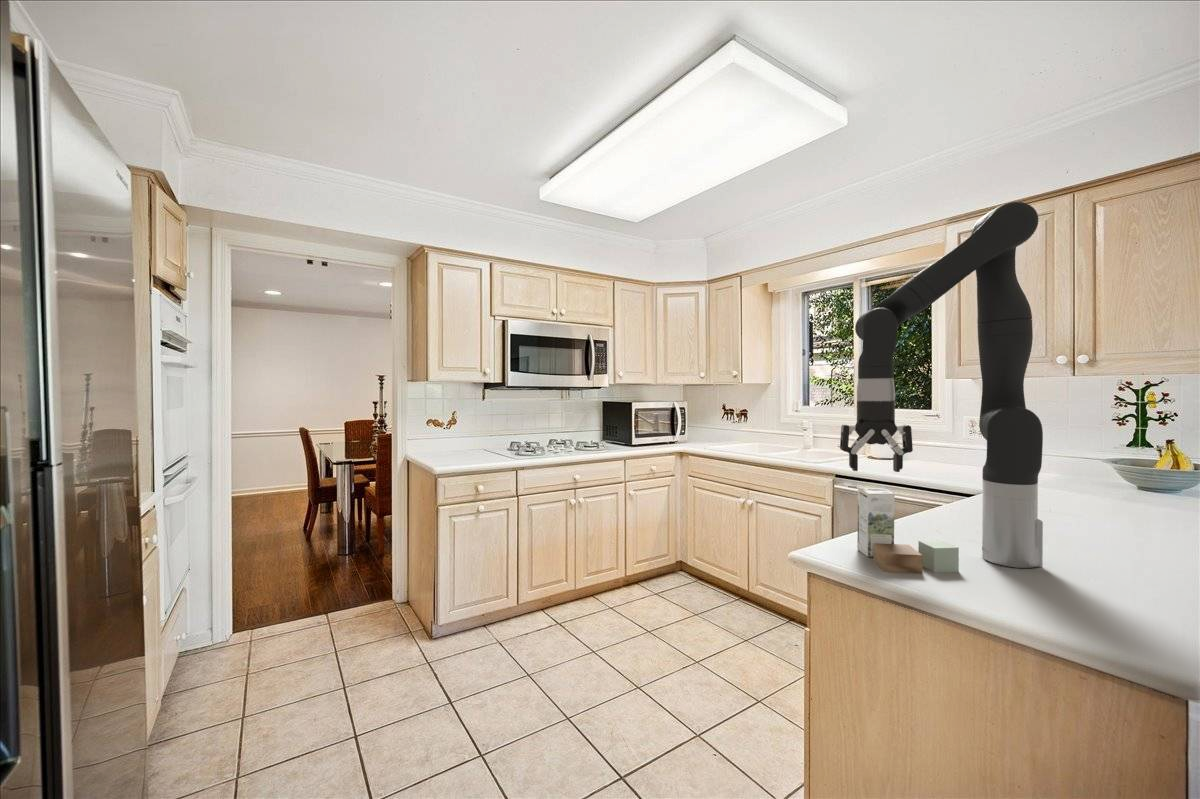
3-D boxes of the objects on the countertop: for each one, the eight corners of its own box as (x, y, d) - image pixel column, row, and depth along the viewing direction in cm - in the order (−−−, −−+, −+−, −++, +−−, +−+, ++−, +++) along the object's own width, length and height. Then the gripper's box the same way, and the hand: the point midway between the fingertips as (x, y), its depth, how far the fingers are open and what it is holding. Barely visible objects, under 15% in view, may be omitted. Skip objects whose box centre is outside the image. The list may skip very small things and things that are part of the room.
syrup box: (882, 550, 118) (882, 487, 118) (895, 558, 112) (894, 492, 112) (857, 549, 119) (856, 487, 119) (867, 558, 113) (867, 492, 113)
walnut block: (908, 563, 110) (908, 544, 110) (922, 574, 103) (922, 555, 103) (873, 561, 112) (873, 543, 111) (884, 572, 105) (884, 553, 105)
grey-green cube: (941, 563, 109) (941, 540, 109) (958, 572, 104) (958, 547, 104) (918, 564, 109) (918, 540, 109) (934, 572, 104) (934, 548, 104)
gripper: (905, 398, 117) (904, 469, 117) (837, 398, 120) (837, 467, 121) (917, 399, 109) (916, 474, 110) (844, 399, 113) (844, 473, 113)
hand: (875, 471), depth 115 cm, fingers open, 8 cm apart
